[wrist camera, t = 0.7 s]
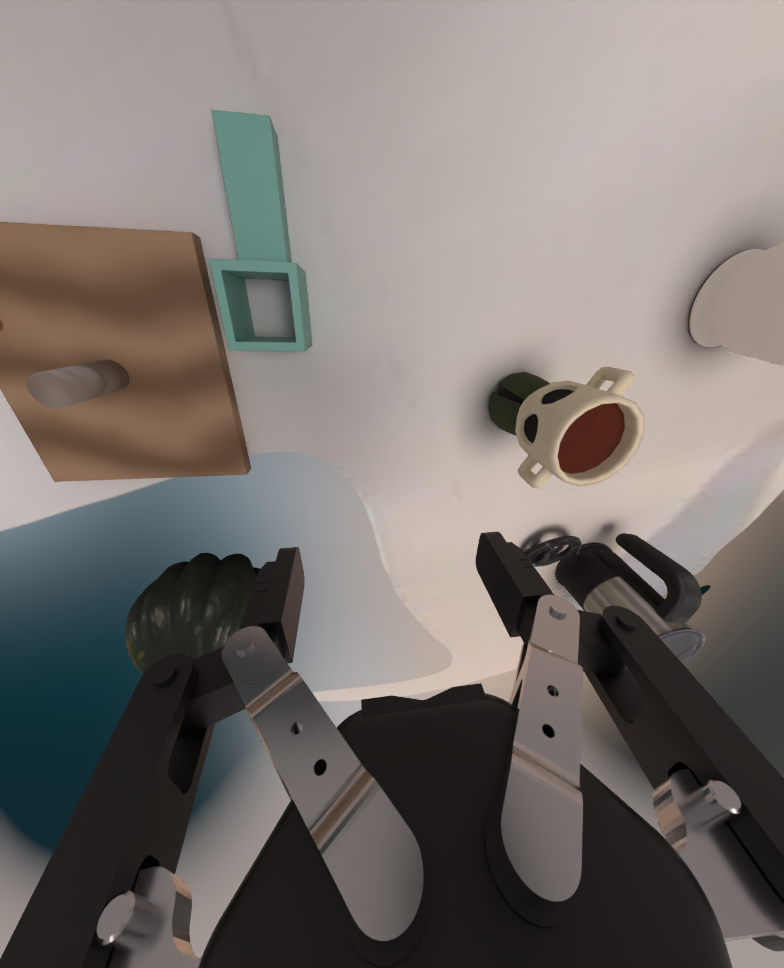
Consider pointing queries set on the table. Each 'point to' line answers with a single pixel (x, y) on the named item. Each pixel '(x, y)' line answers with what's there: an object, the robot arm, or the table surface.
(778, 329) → the jar
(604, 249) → the table surface
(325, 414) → the table surface
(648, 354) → the table surface
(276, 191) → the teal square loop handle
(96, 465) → the base
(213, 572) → the squash
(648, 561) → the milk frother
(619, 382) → the character mug
